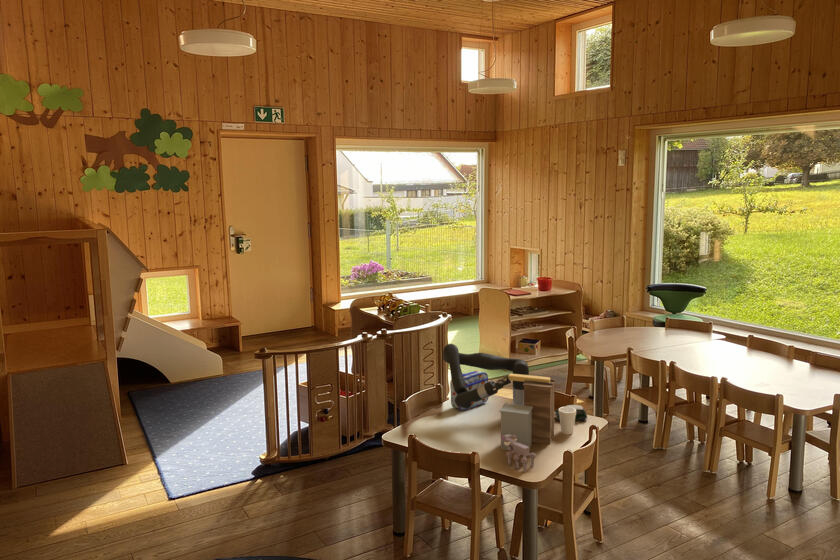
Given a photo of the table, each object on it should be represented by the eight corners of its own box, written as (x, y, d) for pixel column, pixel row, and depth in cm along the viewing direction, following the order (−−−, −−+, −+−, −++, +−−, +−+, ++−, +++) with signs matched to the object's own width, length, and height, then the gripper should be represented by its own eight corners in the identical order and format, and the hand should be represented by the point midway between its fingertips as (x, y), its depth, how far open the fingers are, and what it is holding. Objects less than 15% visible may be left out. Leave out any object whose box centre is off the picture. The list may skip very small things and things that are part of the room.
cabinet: (528, 431, 360) (528, 375, 354) (555, 435, 354) (555, 377, 348) (522, 440, 348) (522, 382, 342) (550, 444, 342) (551, 385, 336)
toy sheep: (492, 460, 326) (493, 434, 324) (506, 454, 333) (507, 429, 331) (523, 473, 312) (524, 446, 310) (537, 467, 319) (538, 441, 317)
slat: (510, 377, 353) (510, 373, 353) (550, 381, 345) (550, 377, 345) (508, 380, 350) (508, 375, 349) (549, 384, 341) (549, 379, 341)
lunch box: (459, 414, 387) (458, 379, 383) (447, 409, 395) (446, 375, 391) (490, 402, 405) (490, 369, 401) (479, 398, 412) (478, 365, 408)
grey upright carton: (505, 440, 348) (505, 403, 345) (532, 444, 343) (532, 406, 339) (499, 449, 338) (499, 410, 335) (528, 453, 333) (528, 414, 329)
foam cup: (578, 431, 358) (579, 409, 356) (570, 436, 352) (570, 414, 349) (563, 427, 365) (563, 405, 362) (555, 432, 358) (555, 410, 355)
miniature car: (554, 416, 381) (554, 403, 379) (585, 416, 380) (585, 403, 378) (556, 422, 372) (556, 409, 371) (588, 422, 371) (588, 409, 369)
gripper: (480, 388, 351) (505, 376, 344) (487, 379, 364) (511, 368, 357) (487, 400, 351) (512, 388, 344) (494, 391, 364) (518, 380, 357)
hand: (512, 378), depth 351 cm, fingers open, 8 cm apart
